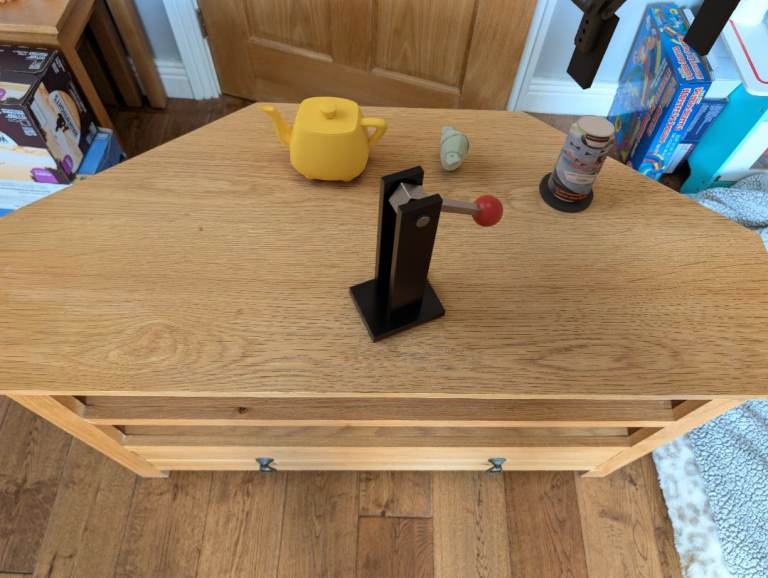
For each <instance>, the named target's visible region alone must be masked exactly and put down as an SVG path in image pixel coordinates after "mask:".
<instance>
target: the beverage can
mask: <svg viewBox="0 0 768 578" xmlns="http://www.w3.org/2000/svg"><path fill="white" fill-rule="evenodd" d="M615 130H616V129H615V126H614V125H613V123H612V122H611V121H610V120H608V119H606V118H605V117H602V116H599V115H595V114H585V115H582V116H580V117H579V118H578V120H576V121H575V122H574V123H572V124H571V126H570V128H569V130H568V133H567V135H566V137H565V140H564V142H563V145H562V147H561V149H560V152H559V154H558V157H557V160H556V162H555V164H554V167H553V169H552V171H551V172H552V174H551V176H550V179H549V181H548V186H549V189H550V190H551V191H552V192H553V194H554V195H555V196H557V197H558V198H560V199H562V200H565V201H570V202H573V201H581V200H583V199H585V198H586V197H587V196H588V194H589V192H590V190H591V188H592V189H593V186H594V184H595V182H596V180H597V177H598V176H599V174H600V172H601V169H602V168H603V166H604V163H605V161H606V160H607V157H608V155H609V154H610V151H611V149H612V147H613V145H614V143H615V141H616V140H615V139H616V137H615Z"/></svg>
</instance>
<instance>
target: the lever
mask: <svg viewBox="0 0 768 578" xmlns="http://www.w3.org/2000/svg"><path fill="white" fill-rule="evenodd" d="M427 196H429V195H428V194H427V192H426V191H425V189H424V187H423V185H422V186H419V185H413V184H407V183H401V184H400V185H399V186H398V188H397V189H396V191H395V192H394V193H393V195H392V196H391V198H390V199H389V201H390V203H391V205H392V206H393V208H394V210H395V211H396V213H397V209H398V206H399V205H402V204H405V203H408V202H411V201H415V200H418V199H421V198H424V197H427ZM442 199H443V203H442V208H441V212H442V213H450V214H458V215H465V216H471V218H472V220H473V221H474V223H475V224H477V225H479V226H480V227H483V228H490V227H494V226H496V225H497V224H498V223H499V222H500V221H501V220H502V218H503V215H504V207H503V203H502V201H501V200H500V199H499V198H498V197H497V196H494V195H492V194H484V195H480V196H479V197H477V198H476V199H475V200H474V201H473V202H472V201H466V200H458V199H451V198H445V197H442Z"/></svg>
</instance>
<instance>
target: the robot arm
mask: <svg viewBox="0 0 768 578" xmlns="http://www.w3.org/2000/svg"><path fill="white" fill-rule="evenodd" d="M570 1H571V2H572V3H573V4H574V5H575V6H576V7H577V9H579V10H580V11H581V12H582V13H583V14H582V17H581V20H580V21H579V22H580V23H579V25H578V28H577V30H576V33H575V36H574V38H573V45H574V46H575V47H574V49H573V52H572V55H571V57H570V60H569V62H568V65H567V68H566V71H565V73H566V74H568V75H569V76H570V78H571V79H572V80H573V81H574V82H575V83H576V84H577V85H578V86H579V87H580V88H581V89H582V90H585V91H586V90H588V89H592V88H591V87H592V86H593V83H594V81H595V78H596V75H597V74H598V71H599V68H601V67H600V66H601V64H602V62H603V61H604V57H605V56H606V55H605V54H606V53H607V50H608V48H609V46H610V43H611V41H612V39H613V36H614V34H615V33H616V32H615V31H616V29H617V27H618V25H619V22H620V20H621V18H620V17H619V16H618V15H617V14H616V12H617V11H618V10H619V9H620V8H621V7H622V6H623V5H624V4H625V3H626V2H627V1H628V0H570ZM741 1H742V0H703V2H702V4H701V6H700V7H699V9H698V11H697V13H696V15H695V16H694V18H693V20H692V22H691V24H690V25H689V28H688V30H687V32H686V33H685V34H684V37H683V39H682V42H684V43H685V44H686V45H687V46H688V47H689V48H690V49H692V50H693V51H694V52H695V53H697V54H698V56H700V57H701V58H702V57H706V56H708V55H709V53H710V52H711V50H712V48H713V47H714V45H715V43H716V41H717V40H718V38H720V35H721V34H722V31H723V30H724V28H725V27H726V25H727V24H728V22H729V21H730V19H731V17H732V15H733V14H734V12H735V11H736V10H737V7H738V6H739V3H740V2H741Z"/></svg>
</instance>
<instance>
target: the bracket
mask: <svg viewBox="0 0 768 578" xmlns="http://www.w3.org/2000/svg"><path fill="white" fill-rule="evenodd" d="M424 177H425V170H424V168H423V167H422V165H420V164H418V165H416V166H413V167H409V168H406V169H401V170H399V171H396V172H392V173H389V174H385V175H382V176H380V178H379V179H380V180H379V181H380V182H379V194H378V195H379V197H378V212H377V230H376V246H375V261H374V278H372V279H369V280H366V281H363V282H361V283H357V284H354V285H351V286H350V287H348V293H349V296H350V297H351V299H352V302H353V304H354V305H355V308H356V310H357V312H358V314H359V316H360V318H361V320H362V322H363V324H364V326H365V328H366V331H367V333H368V335H369V337H370V339H371V340H372V343H376V342H379V341H382V340H384V339H387V338H390V337H393V336H395V335H398V334H400V333H402V332H406V331H408V330H412V329H413V328H416V327H419V326H421V325H424V324H427V323H429V322H432V321H435V320H438V319H439V318H442V317H445V316H446V312H447V310H446V309H445V306H444V305H443V303H442V302H441V300H440V298H439V296H438V295H437V293H436V292H435V290H434V288H433V286H432V284H431V283H430V281H429V279H428V276H429V275H428V274H429V271H430V266H431V261H432V256H433V252H434V247H435V242H436V237H437V232H438V226H439V223H440V222H439V221H440V218H441V208H442V203H443V199H442V198H443V197H442V196H441V194H440V193H439V192H437V193H434V194H431V195H428V196H427V197H424V198H421V199H418V200H415V201H411V202H408V203H405V204H402V205H399V206H398V209H397V213H396V211H395V210H394V208H393V206H392V205H391V203H390V201H389V199H390V198H391V196H392V195H393V193H394V192H395V191H396V189H397V188H398V186H399V185H400V184H401V183H407V184H413V185H419V186H422V187H423V184H424Z"/></svg>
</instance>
